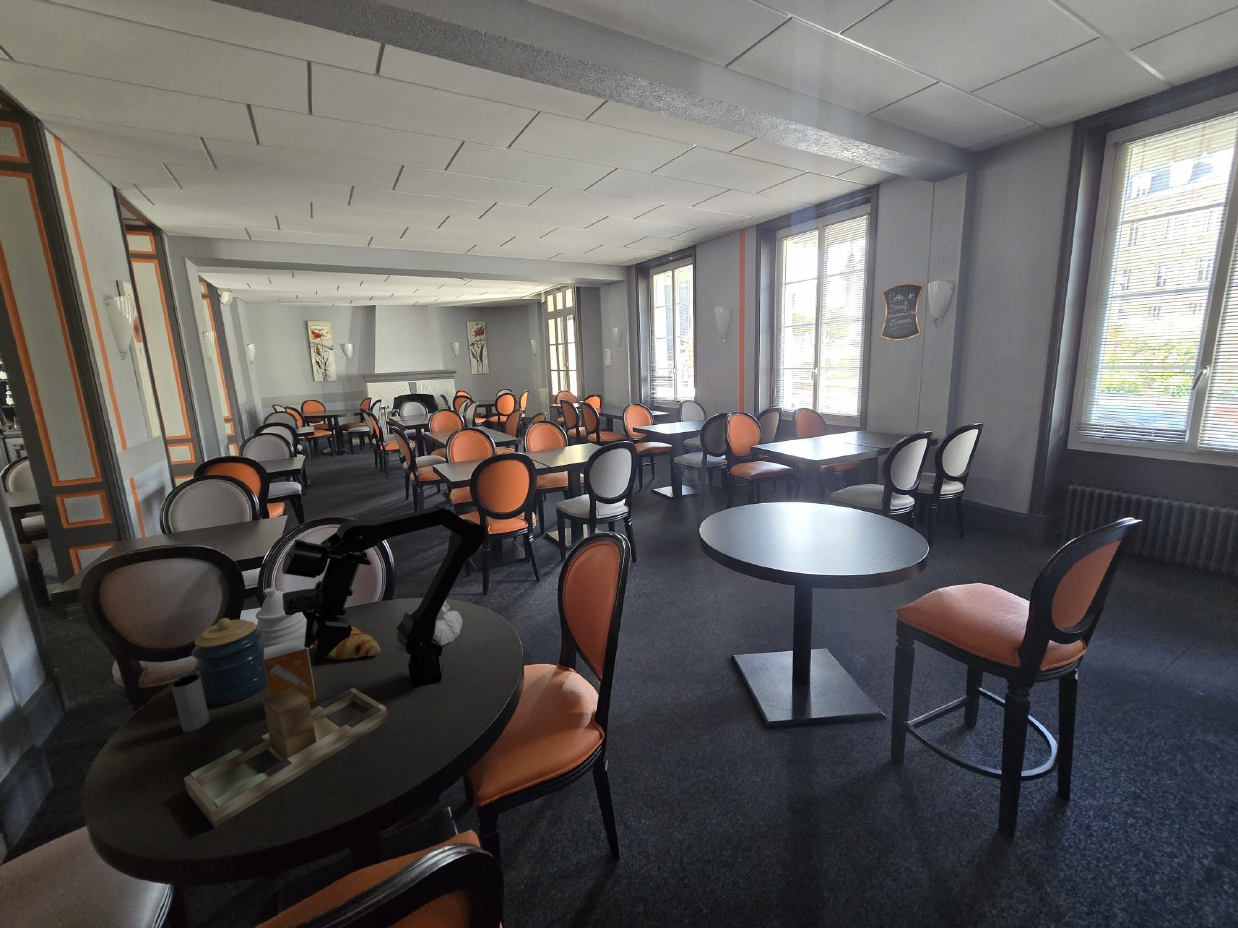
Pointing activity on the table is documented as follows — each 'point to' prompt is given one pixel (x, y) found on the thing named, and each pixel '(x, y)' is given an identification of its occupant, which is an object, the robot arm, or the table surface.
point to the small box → (289, 668)
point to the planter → (190, 702)
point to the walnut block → (289, 722)
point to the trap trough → (280, 758)
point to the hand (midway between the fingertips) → (310, 655)
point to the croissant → (354, 646)
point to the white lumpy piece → (447, 625)
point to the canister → (230, 661)
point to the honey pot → (278, 621)
